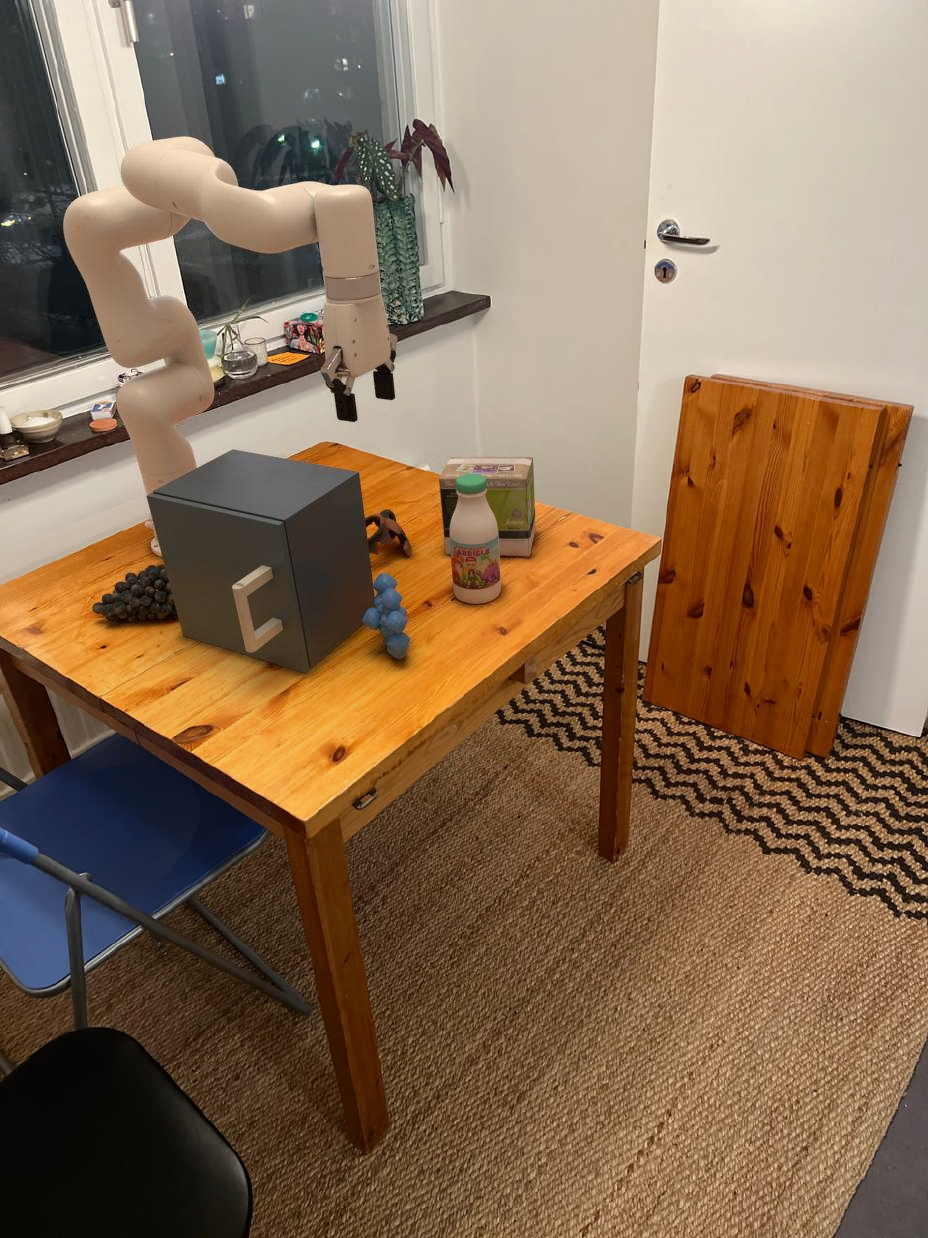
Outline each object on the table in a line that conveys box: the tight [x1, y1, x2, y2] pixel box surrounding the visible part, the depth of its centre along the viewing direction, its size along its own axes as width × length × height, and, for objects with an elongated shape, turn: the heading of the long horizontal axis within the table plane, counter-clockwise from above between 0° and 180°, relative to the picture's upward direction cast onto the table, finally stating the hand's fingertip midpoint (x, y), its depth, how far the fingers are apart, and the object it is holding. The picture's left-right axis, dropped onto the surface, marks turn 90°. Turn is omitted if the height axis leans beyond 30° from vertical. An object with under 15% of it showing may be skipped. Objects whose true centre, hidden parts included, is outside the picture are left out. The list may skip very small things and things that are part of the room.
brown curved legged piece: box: [365, 508, 412, 558], centre depth 161 cm, size 12×10×8 cm
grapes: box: [362, 573, 411, 660], centre depth 132 cm, size 12×7×12 cm, turn 16°
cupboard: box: [153, 448, 376, 670], centre depth 137 cm, size 17×24×24 cm
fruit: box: [91, 564, 177, 623], centre depth 146 cm, size 9×8×15 cm
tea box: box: [438, 456, 536, 557], centre depth 158 cm, size 15×10×15 cm, turn 80°
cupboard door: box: [145, 493, 311, 675], centre depth 128 cm, size 8×24×24 cm, turn 61°
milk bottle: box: [450, 473, 502, 605], centre depth 142 cm, size 8×8×20 cm
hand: (367, 409), depth 132 cm, fingers open, 9 cm apart
